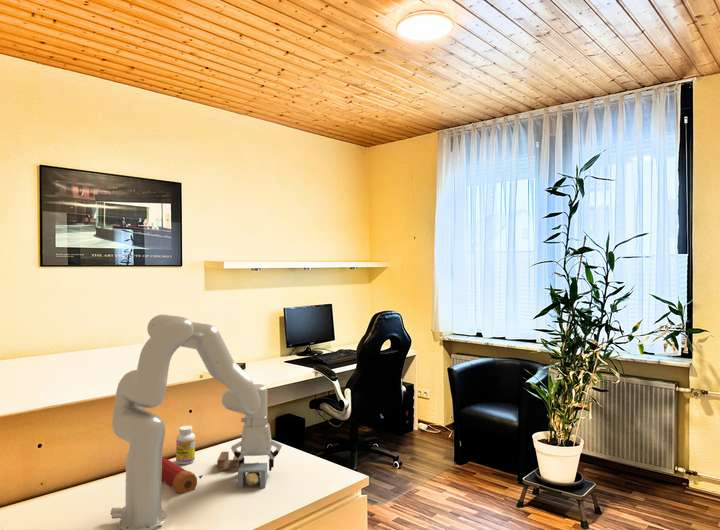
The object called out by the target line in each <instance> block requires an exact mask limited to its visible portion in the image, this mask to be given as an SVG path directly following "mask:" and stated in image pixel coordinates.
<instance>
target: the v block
mask: <svg viewBox="0 0 720 530" xmlns="http://www.w3.org/2000/svg"><path fill="white" fill-rule="evenodd" d="M237 451H238V452H239V453H240V454H241V450H240V451H239V450H237ZM229 455H230V453H229V451H221V452H220V455H219V457H218V458H217V460H216V464H217V465H216V467H217V468H216V470H217V472H220V473H221V472H238V470H239V460H238V458H237V457H236V456H235V455H234V456H233V457H232V458H233V459H230V458H229ZM217 472H216V473H217Z"/></svg>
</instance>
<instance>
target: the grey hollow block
mask: <svg viewBox="0 0 720 530" xmlns="http://www.w3.org/2000/svg"><path fill="white" fill-rule="evenodd" d="M249 472H260V477H259V479H258V482H257V484H256V485H254V486H249V485H248V484H247V483H246V477H247V475H246V474H247V473H249ZM267 482H268V462H253V463H251V462H248V463H246V462H244V463H241V465H240V467H239V470H238V471H237V489H265V488H266V486H267Z"/></svg>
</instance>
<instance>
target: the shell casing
mask: <svg viewBox="0 0 720 530" xmlns="http://www.w3.org/2000/svg"><path fill="white" fill-rule="evenodd" d="M162 482H163V483H165V484H166V485H168V486H169V487H171V488H172V489H173V490H174V491H175V492H176V493H178V494H180V495H183V494H186V493H188V492H191V491H195V490H196V488H197V485H198V477H197V476H196V475H195V473H194V472H192V471H189V470H187V469H184V468H183V467H182V466H179V464H177V463H174V462H173V461H172V460H170V459H168V458H164V457H162Z"/></svg>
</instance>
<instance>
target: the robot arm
mask: <svg viewBox="0 0 720 530" xmlns="http://www.w3.org/2000/svg"><path fill="white" fill-rule="evenodd" d="M146 328H147V329H146V330H147V334H148V335H149V338H148V339H147V341H146V342H145V344H143V346H142V349H141V350H140V354H139V359H138V363H137V366H136V369H133V370H130V371H128V372H127V373H125V374H124V375H123V376H122V377H121V379H120V380H119V382H118V383H117V388H116V392H115V400H114V406H113V412H112V413H113V414H112V422H111V423H112V425H111V426H112V431H113V434H115V436H116V437H118V438H119V439H120V440H123V441H125V442H127V443H129V449H128V451H127V455H126V459H125V460H126V461H125V505H124V506H123V507H112V508H111V510H110V515H111V519H120V520H119V524H118V527H119V530H158V529H159V528H161V527H162V524H163V523H164V522H165V521H167V517H168V513H167V512H166V511H164V509H162V492H163V490H162V482H163V481H162V459H163V447H164V446H163V445H164V441H165V437H166V425H165V422H164V420H163V419H162V418H161V416H159V415H158V414H156V413H154V412H152V411H149V410H146V408H148V409H152V408H156V407H158V406H159V405H161V404H162V403H163V401H164V400H165V396H166V393H167V385H168V384H167V382H168V375H169V370H170V369H169V368H170V364H171V359H172V358H173V355H174V354H175V353H176V351H177V350H178V349H179V348H180V347H182V348H188V349H193V350H196V351H197V353H198V355H199V357H200V358H201V360H202V362H203V364H204V366H205V368H206V370H207V372H208V374H209V375H210V376H211V377H212V378H214V380H215V381H217V382H219V383H221V384H222V385H223V386H225V387H226V388H227V390H226V391H225V392H223V395H222V397H221V404H222V405H223V407H224V408H225V409H227V410H229V411H232V412H234V413H235V412H236V413H238V414H242V415H245V416H244V417H241V418H240V419H241V420H240V422H241V423H244V425H242V431H241V439H240V441H238V442H237V443H235V444H233V445H232V446H231V447H230V449H231V451H232V453H233V455H234V456H236V457H237V458H238V460H239V467H240V465H241V463H245V457H256V456H268V458H269V460H268V471H269V472H272V469H273V468H274V467H275V466H274V464H275V463H274V462H275V461H274V459H275V457H277V456H278V455H279V453H280V451H281V450H282V444H280V443H278V442H277V441H275V440H273V439H272V432H271V425H270V423H269V422H268V387H267V386H266V385H264V384H260V383H259V384H255V383H254V382H253V380H252V379H251V378H250V377H249V375H248V374H247V373H246V372H245V371H244V370H243V369H242V368H241V366H240V365H238V364H237V363H236V362H235V361H234V359H233V357H232V355H231V353H230V351H229V349H228V347H227V345H226V343H225V341H224V339H223V337H222V335H221V333H220V331H219V330H218V328H217V327H215V326H214V325H212V324H207V323H200V322H195V321H191V320H190V319H188V318H186V317H185V316H184V317H183V316H178V315H170V314H169V315H168V314H158V315H155V316H153V317H152V318H151V319H150V320H149V322H148V324H147V327H146ZM272 447H275V448H276V449H275V450H274V451H272ZM238 448H240V451H241V454H240V453H239V452H238V451H239V450H238Z"/></svg>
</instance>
